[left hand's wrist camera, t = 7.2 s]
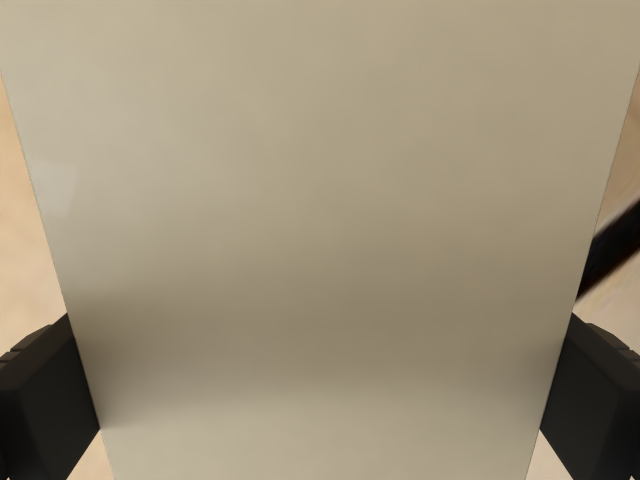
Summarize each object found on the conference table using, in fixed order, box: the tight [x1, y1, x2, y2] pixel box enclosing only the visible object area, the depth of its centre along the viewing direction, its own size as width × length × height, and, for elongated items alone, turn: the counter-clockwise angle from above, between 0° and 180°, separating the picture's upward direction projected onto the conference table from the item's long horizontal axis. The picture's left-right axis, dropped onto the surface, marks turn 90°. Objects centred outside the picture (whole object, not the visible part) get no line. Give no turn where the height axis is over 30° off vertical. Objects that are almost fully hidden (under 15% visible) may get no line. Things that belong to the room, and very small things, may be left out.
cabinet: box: [0, 0, 640, 480], centre depth 12 cm, size 18×11×11 cm, turn 0°
